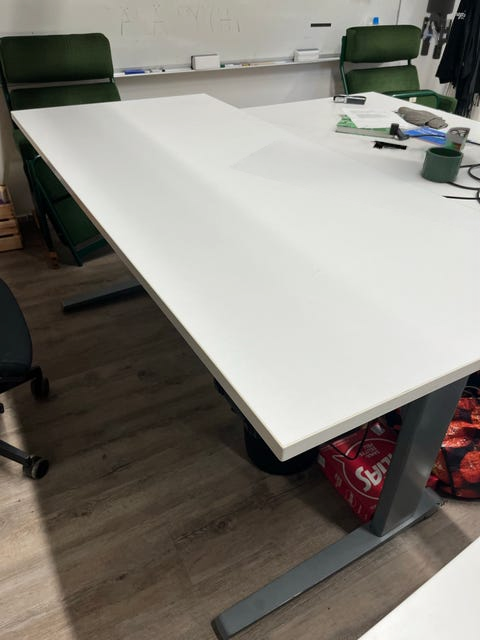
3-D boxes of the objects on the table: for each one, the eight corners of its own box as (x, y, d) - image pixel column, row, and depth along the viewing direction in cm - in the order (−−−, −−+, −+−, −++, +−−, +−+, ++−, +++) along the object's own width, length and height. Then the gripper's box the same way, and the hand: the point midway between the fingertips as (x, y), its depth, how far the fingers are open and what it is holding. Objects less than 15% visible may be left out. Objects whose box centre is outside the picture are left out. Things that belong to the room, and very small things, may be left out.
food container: (442, 154, 164) (451, 124, 158) (460, 158, 161) (470, 127, 155) (434, 165, 155) (443, 133, 149) (453, 169, 153) (463, 137, 147)
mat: (408, 144, 173) (408, 143, 173) (404, 153, 165) (404, 152, 164) (377, 140, 176) (378, 139, 176) (372, 148, 168) (372, 147, 168)
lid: (408, 143, 173) (413, 122, 168) (404, 151, 165) (409, 130, 160) (377, 139, 176) (381, 118, 172) (372, 147, 168) (376, 125, 163)
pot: (456, 174, 149) (464, 150, 145) (455, 184, 141) (463, 159, 137) (422, 168, 152) (428, 144, 148) (419, 178, 144) (425, 154, 140)
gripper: (467, -5, 133) (451, 60, 143) (444, -7, 145) (431, 54, 154) (441, -6, 133) (427, 60, 142) (420, -7, 144) (408, 54, 154)
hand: (429, 57), depth 148 cm, fingers open, 8 cm apart
